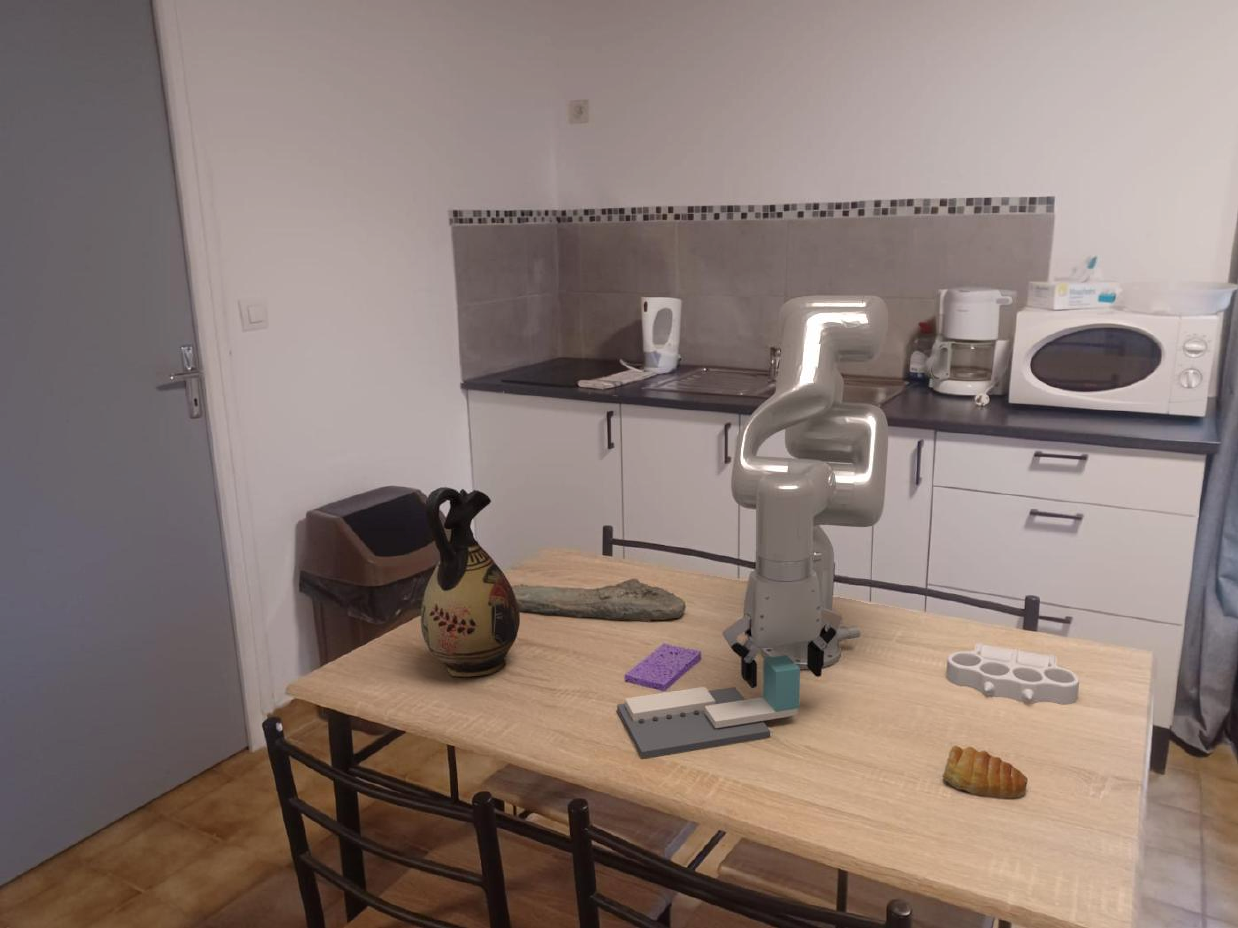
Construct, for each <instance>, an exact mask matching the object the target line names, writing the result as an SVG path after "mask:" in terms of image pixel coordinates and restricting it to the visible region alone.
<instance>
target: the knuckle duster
mask: <svg viewBox="0 0 1238 928" xmlns="http://www.w3.org/2000/svg"><path fill="white" fill-rule="evenodd" d="M946 660H947V661H946V673H945V674H946V675H945V676H946V680H948V682H950V683H951V684H953V685H954V686H958V687H959V686H960V687H967V688H971V689H973V690H976V691H978V692H979V693H981V694H982V695H983V694H984V695H987V696H990V697H994V698H1003V699H1004V698H1006V699H1011V700H1014V701H1016V702H1019V703H1032V704H1035V703H1045V702H1046V703H1052V704H1058V705H1061V706H1062V705H1063V706H1066V705H1071V704H1074V703H1076V702H1077V701H1078V698H1079V687H1080V678H1079V676H1078V675H1077V674H1076V673H1074V672H1073V671H1071V670H1069V669H1067V668H1063V667H1060V666H1059V665H1058V664H1057V663H1058V656H1056V655H1054V654H1049V655H1047V654H1042V653H1035V652H1031V651H1025V650H1020V649H1018V648H1013V649H1012V648H1007V647H1002V646H995V645H988V644H983V643H982V642H977V643H975V646H974V650H971V651H956V652H952V653H951V654H949V655H948V656H947V659H946Z"/></svg>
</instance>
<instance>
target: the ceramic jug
mask: <svg viewBox="0 0 1238 928" xmlns="http://www.w3.org/2000/svg"><path fill="white" fill-rule="evenodd" d="M447 501H449V509H448V513H447V515H446V518H445V521H444V522H443V523H442V519H441V518H440V508H441V506H442V504H445V503H446V502H447ZM491 502H492V500H491V498H490V497H489V496H488V495H487V494H486V493H484V492H483V491H480V490H476V489H474V490H472V491H470V492H467V491H466V490H465V489H464V488H461V490H459V491H458V490H457V489H454V488H452V487H451V488H450V487H447V486H446V487H444V486H443V487H441V486H440V487H439V488H436V489H435V490H433V491H431V492H430V493H429V494H428V496H427V499H426V501H425V504H426V505H425V518H426V523H427V526H428V527H429V531H430V532H431V537H433V540H434V542H435V546H436V549H437V550H438V552H439V561H438V563H437V564H436V565H435V569H434V570H433V572H432V575H430V578H429V579H428V582H427V585H426V587H425V590H424V592H423V597H422V602H421V608H420V609H421V611H420V627H421V633H422V637H423V641H424V642H425V644H426V645H427V647H428V649H429V651H430V652H431V653H432V654H433V655H434V656H436V658H438V659H439V660H440V662H441V663H443V664H444V666H445V667H446V669H447V671H448V674H449V675H451V677H465V678H466V677H478V676H479V677H480V676H487V675H491V674H493V673H495V672H498V671H500V670H501V669H503V668H505V666H506V657H507V654H508V653H509V651H510V650H511V648H512V647H513V645H514V644H515V641H516V639H517V637H518V632H519V630H520V624H521V617H520V616H521V615H520V610H519V608H518V604H517V601H516V598H515V594H514V592H513V590H512V587H511V586H512V585H511V584H510V581H509V580H508V577H506V576H507V575H505V573H504V572H503V571H502V569H501V568H500V567H499V565H498V564H497V563H496V562H495V560H494V558H492V556H491V555H490V554H489V553H488V552H487V551H486V550H485V549H484V548H483V547H482V546H481V545H480V543H479V542H478V541H477V540H476V538H475V537H474V532H473V530H472V528H471V526H472V525H471V524H472V521H473V520H474V519H475V517H476V516H477V515H478V514H479V513H480V512H481V511H483V510H484V509H485V508H486V507H487V506H489V505H490V504H491ZM445 529H446V530H450V537H449V539H448V537H447V534H446V531H445Z"/></svg>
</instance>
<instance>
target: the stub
mask: <svg viewBox="0 0 1238 928" xmlns="http://www.w3.org/2000/svg"><path fill="white" fill-rule="evenodd" d="M762 664H763V667H762V668H763V670H762V671H763V672H762V675H763V676H762V697H761V696H760V697H753V698H749V699H745V700H741V701H734V702H728V703H721V704H715V705H708V706H704V708H705V714H706V715H707V717H708V718H709V720H710V721H711V723H712V724H713V725H714V727H715V728H720V727H727V726H733V725H739V724H745V723H752V722H758V721H763V722H764V721H770V720H776V719H780V718H788V717H793V716H798V709H800V690H801V688H800V687H801V686H800V684H801V683H800V682H801V669H800V668H799V667H798V666H797V665H796V664H795V663H794V662H793V661H792V660H791V659H790V658H789V657H788V656H787V655H782V656H775V657H768V658H766V657H764V658H763V663H762Z"/></svg>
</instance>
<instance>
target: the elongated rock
mask: <svg viewBox="0 0 1238 928" xmlns="http://www.w3.org/2000/svg"><path fill="white" fill-rule="evenodd" d="M511 587H512V590H513V592H514V594H515V598H516V601H517V604H518V608H519V612H530V613H531V612H532V613H534V614H535V613H538V614H539V613H540V614H543V615H549V616H550V615H557V616H564V617H572V618H579V619H581V617H582V618H600V619H601V618H603V619H607V620H610V619H611V620H615V619H616V620H617V621H624V620H629V621H639V622H648V621H650V622H651V621H652V620H656V621H657V620H662V621H664V620H668V619H677V618H680V617H682V615H683V614H684V612H685V610H686V607H687V606H686V602H685V601H684V599H683V598H681V597H679V596H676V595H675V593H673V592H669V591H668V590H667V589H664V588H662V587H659V586H651V585H649V584H648V583H644V582H640V580H639V579H638V578H630V579H628V580H624V581H622V582H621V583H619V582H618V583H617V584H616V585H613V584H612V585H611V584H610V585H605V586H603V587H598V588H597V587H596V588H589V589H588V588H584V587H583V588H582V587H567V586H565V587H560V586H545V585H528V584H525V585H524V584H515V585H513V586H512V585H511Z"/></svg>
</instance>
